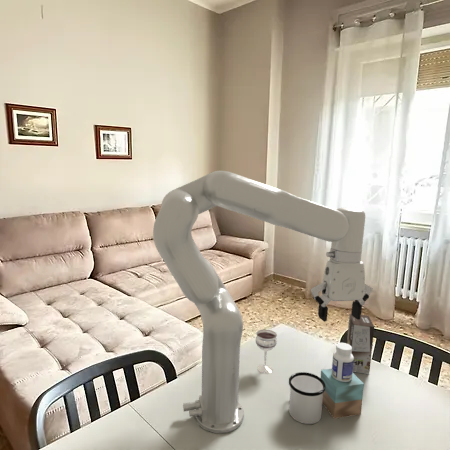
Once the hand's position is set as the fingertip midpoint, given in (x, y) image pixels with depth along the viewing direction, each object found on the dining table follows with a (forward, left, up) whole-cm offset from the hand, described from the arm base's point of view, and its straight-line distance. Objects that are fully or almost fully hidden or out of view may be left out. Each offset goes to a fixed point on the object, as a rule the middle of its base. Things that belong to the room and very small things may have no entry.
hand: (339, 318), depth 93 cm
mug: (-9, -1, -25) cm, 27 cm away
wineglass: (-13, +19, -25) cm, 34 cm away
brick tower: (+1, -2, -25) cm, 25 cm away
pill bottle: (+1, -2, -16) cm, 16 cm away
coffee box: (+18, +15, -25) cm, 35 cm away
